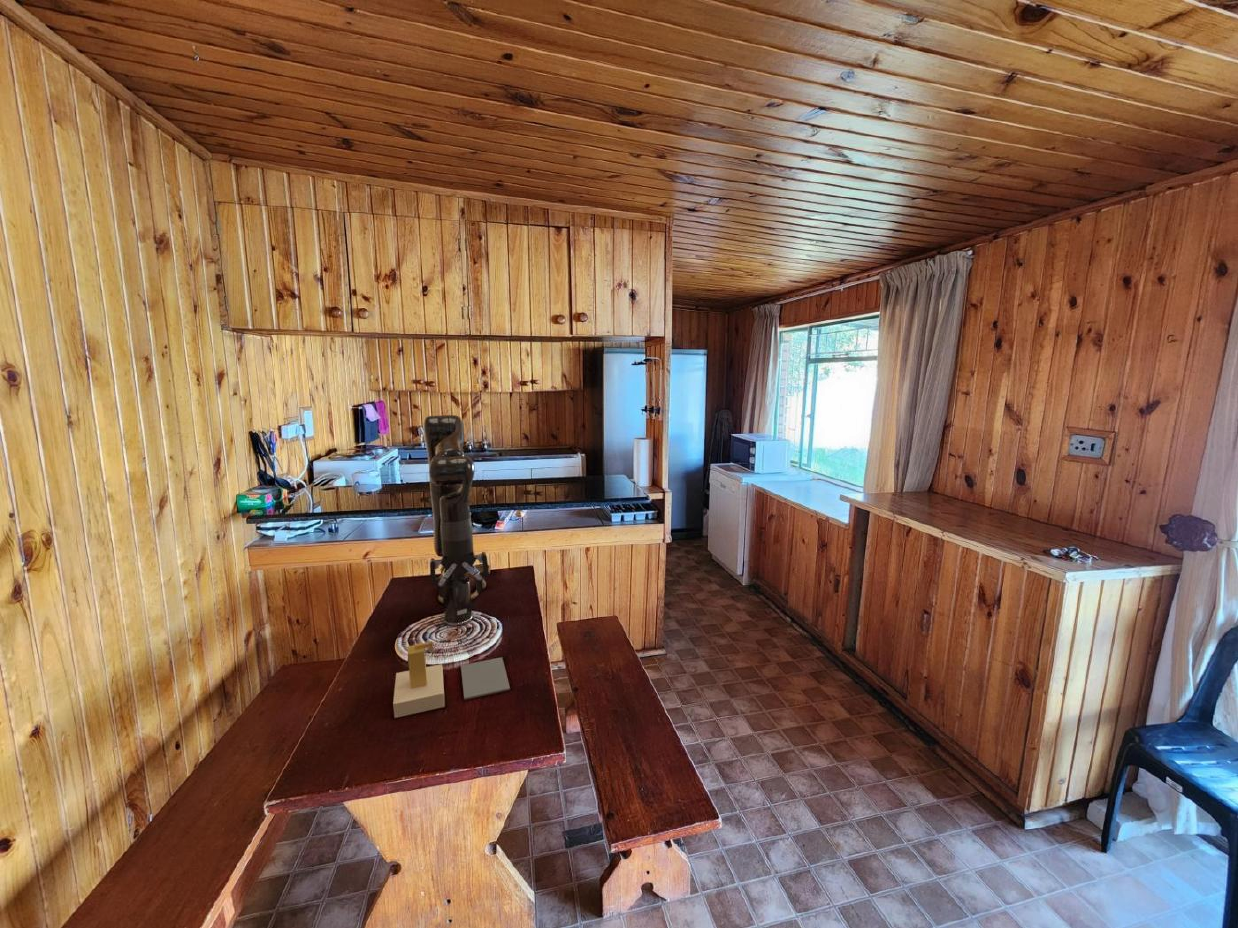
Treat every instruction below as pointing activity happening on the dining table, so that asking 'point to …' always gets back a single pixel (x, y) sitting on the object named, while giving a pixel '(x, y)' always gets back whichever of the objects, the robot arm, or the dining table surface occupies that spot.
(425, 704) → the beige rectangular block
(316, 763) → the dining table surface
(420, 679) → the golden block with ridge
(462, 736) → the dining table surface
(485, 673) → the left mat
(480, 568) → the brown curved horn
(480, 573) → the robot arm
